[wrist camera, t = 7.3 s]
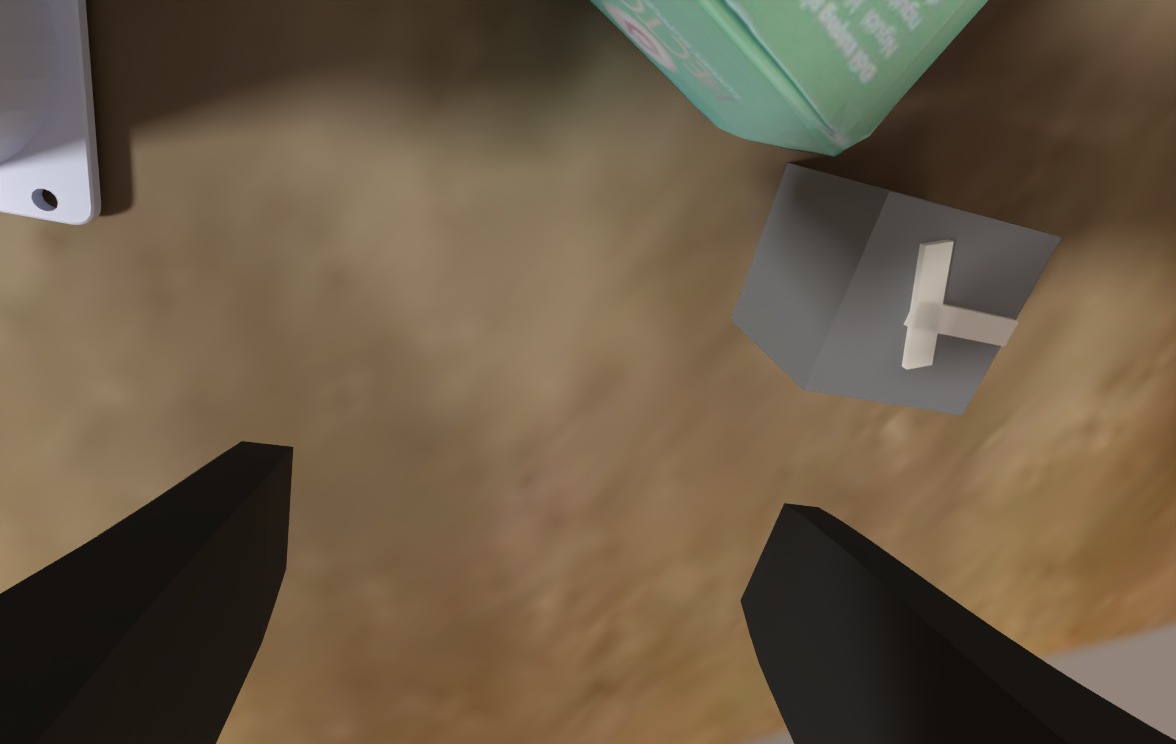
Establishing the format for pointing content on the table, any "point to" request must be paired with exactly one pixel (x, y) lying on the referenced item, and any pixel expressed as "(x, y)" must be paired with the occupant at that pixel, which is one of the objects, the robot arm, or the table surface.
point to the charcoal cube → (885, 291)
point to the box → (793, 60)
